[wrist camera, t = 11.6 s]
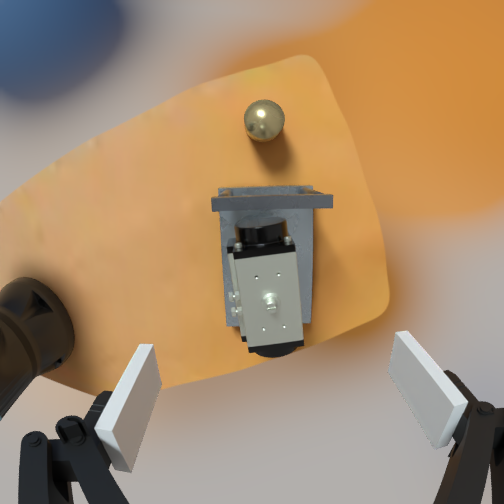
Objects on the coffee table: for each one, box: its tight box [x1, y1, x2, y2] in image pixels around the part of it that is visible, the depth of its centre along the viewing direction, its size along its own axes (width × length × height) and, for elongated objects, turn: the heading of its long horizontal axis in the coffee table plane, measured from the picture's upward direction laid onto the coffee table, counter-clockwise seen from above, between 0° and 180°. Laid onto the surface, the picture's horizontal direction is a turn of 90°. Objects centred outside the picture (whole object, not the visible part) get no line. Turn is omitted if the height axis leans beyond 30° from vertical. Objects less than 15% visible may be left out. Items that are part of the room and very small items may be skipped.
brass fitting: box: [244, 100, 285, 142], centre depth 32 cm, size 4×4×5 cm
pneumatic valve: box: [226, 217, 304, 358], centre depth 30 cm, size 6×12×12 cm, turn 8°
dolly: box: [211, 185, 333, 326], centre depth 32 cm, size 10×16×14 cm, turn 2°
